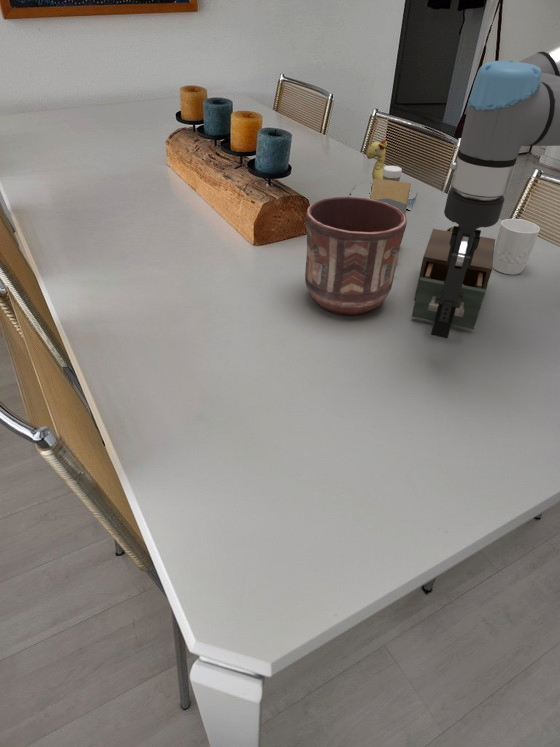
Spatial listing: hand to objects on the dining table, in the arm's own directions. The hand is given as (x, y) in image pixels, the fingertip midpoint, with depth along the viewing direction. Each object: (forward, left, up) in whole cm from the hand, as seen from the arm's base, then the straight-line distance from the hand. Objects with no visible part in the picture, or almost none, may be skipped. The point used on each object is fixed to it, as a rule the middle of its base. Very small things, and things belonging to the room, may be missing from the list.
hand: (439, 334), depth 89 cm
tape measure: (0, -50, -6) cm, 50 cm away
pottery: (+19, -14, -6) cm, 24 cm away
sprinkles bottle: (+20, -59, -6) cm, 63 cm away
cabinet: (0, -27, -6) cm, 28 cm away
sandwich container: (+17, -37, -6) cm, 41 cm away
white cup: (-11, -43, -6) cm, 45 cm away
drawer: (0, -16, -5) cm, 17 cm away
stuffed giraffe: (+24, -76, -6) cm, 80 cm away
